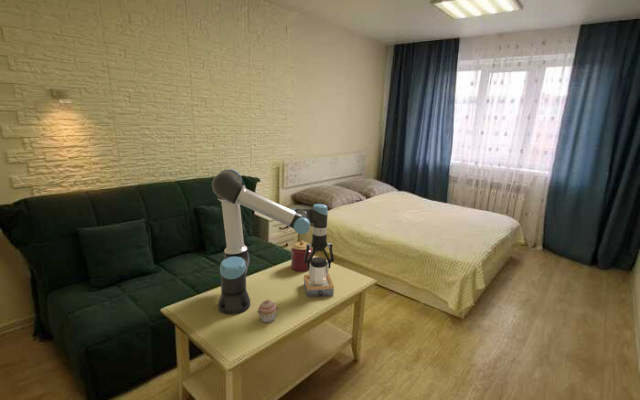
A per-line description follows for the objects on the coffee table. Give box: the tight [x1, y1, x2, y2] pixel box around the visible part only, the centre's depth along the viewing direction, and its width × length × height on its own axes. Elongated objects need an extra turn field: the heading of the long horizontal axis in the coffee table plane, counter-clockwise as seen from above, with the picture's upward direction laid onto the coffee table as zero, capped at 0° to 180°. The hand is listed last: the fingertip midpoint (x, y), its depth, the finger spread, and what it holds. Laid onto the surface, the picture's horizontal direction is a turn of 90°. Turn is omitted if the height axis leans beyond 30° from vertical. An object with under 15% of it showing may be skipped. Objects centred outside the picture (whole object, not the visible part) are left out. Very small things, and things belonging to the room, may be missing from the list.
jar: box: [310, 256, 327, 284], centre depth 176 cm, size 9×8×12 cm
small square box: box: [303, 273, 335, 298], centre depth 178 cm, size 14×15×6 cm
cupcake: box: [257, 299, 279, 324], centre depth 150 cm, size 9×9×10 cm
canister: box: [290, 240, 313, 272], centre depth 203 cm, size 13×13×18 cm
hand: (318, 274), depth 176 cm, fingers closed on jar, 9 cm apart
